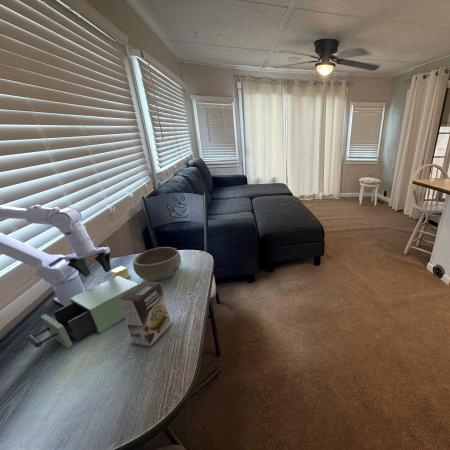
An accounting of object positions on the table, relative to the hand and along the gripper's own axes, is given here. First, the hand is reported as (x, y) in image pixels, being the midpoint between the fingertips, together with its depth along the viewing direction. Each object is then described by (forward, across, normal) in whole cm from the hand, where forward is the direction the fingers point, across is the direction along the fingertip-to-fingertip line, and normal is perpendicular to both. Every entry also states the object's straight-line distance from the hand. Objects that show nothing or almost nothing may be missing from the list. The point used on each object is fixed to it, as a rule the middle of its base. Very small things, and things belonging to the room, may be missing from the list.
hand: (98, 272), depth 90 cm
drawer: (+9, +2, -21) cm, 23 cm away
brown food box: (+13, +26, -25) cm, 38 cm away
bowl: (+12, +15, +11) cm, 22 cm away
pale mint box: (+11, +8, -12) cm, 18 cm away
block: (+10, -2, +11) cm, 15 cm away
